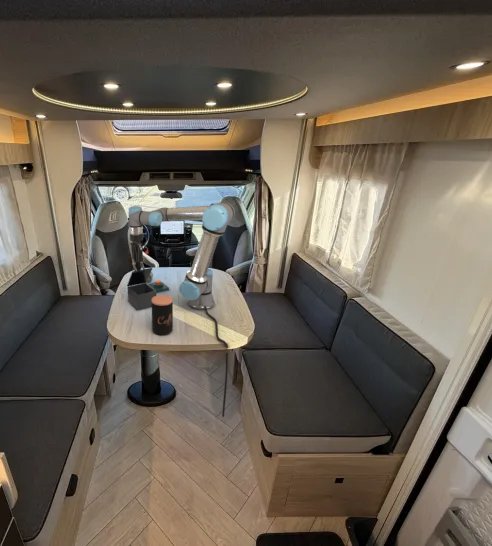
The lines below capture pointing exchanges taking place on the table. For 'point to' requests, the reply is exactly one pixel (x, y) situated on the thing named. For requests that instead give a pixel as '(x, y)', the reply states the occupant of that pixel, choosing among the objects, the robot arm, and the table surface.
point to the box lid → (139, 275)
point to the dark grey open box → (141, 296)
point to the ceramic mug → (150, 278)
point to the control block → (159, 287)
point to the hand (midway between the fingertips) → (137, 271)
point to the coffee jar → (162, 314)
